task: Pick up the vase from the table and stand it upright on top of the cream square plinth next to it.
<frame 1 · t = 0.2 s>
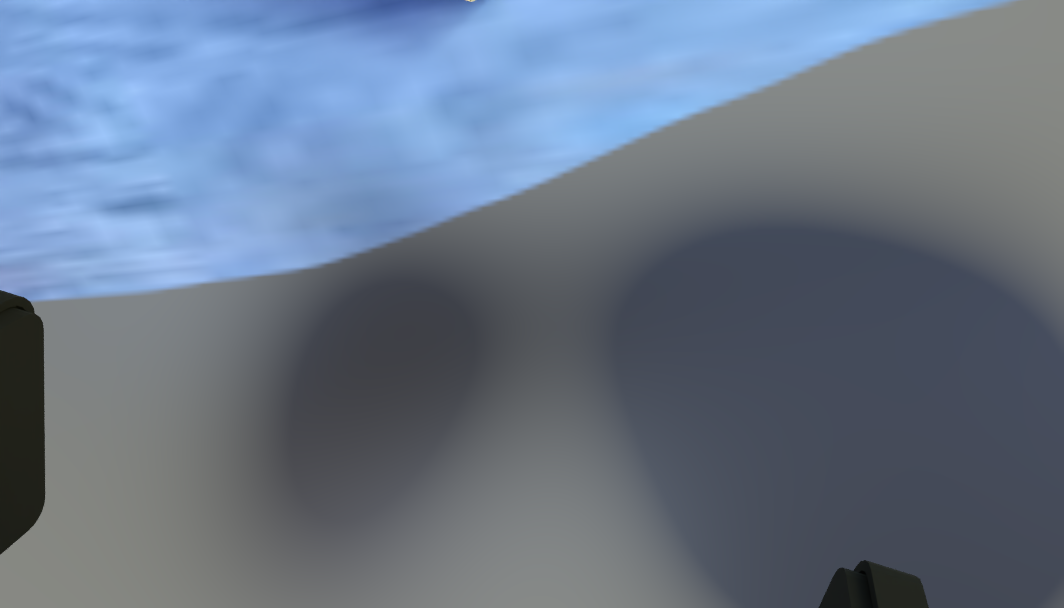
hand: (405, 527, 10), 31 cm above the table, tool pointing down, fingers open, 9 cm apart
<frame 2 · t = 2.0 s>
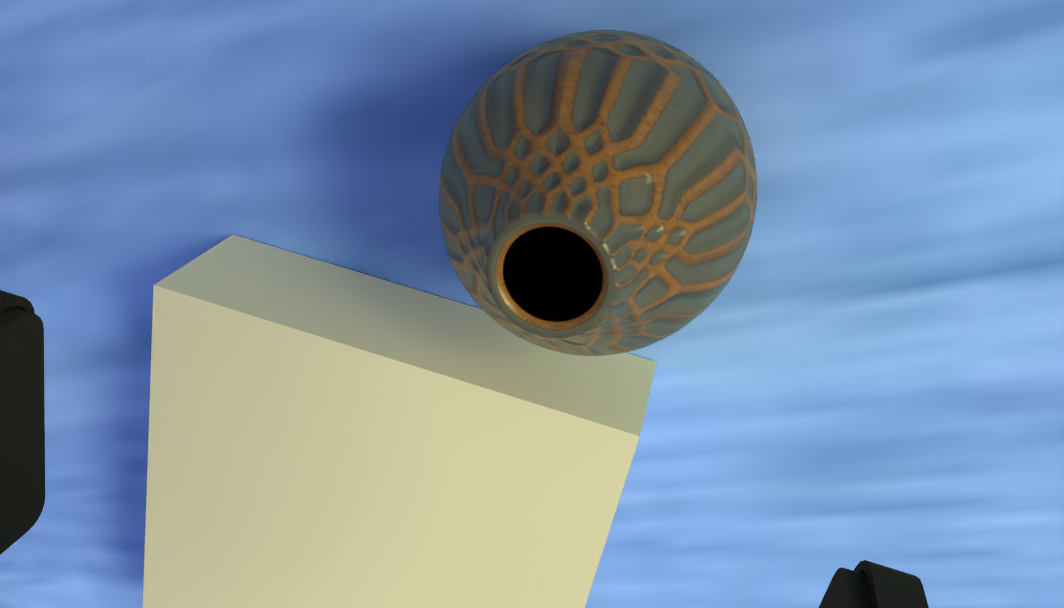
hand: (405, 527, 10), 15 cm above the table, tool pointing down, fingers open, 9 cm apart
vase: (621, 151, 24), on the table
plinth: (405, 474, 29), on the table
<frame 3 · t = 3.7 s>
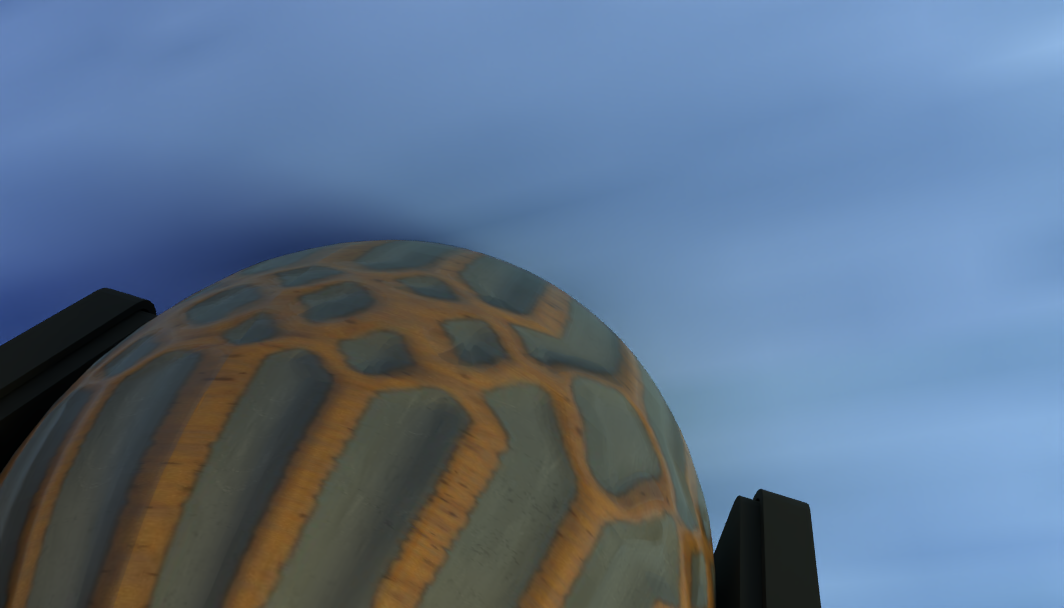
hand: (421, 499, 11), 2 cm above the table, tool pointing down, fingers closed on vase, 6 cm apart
vase: (469, 413, 13), on the table, touching gripper
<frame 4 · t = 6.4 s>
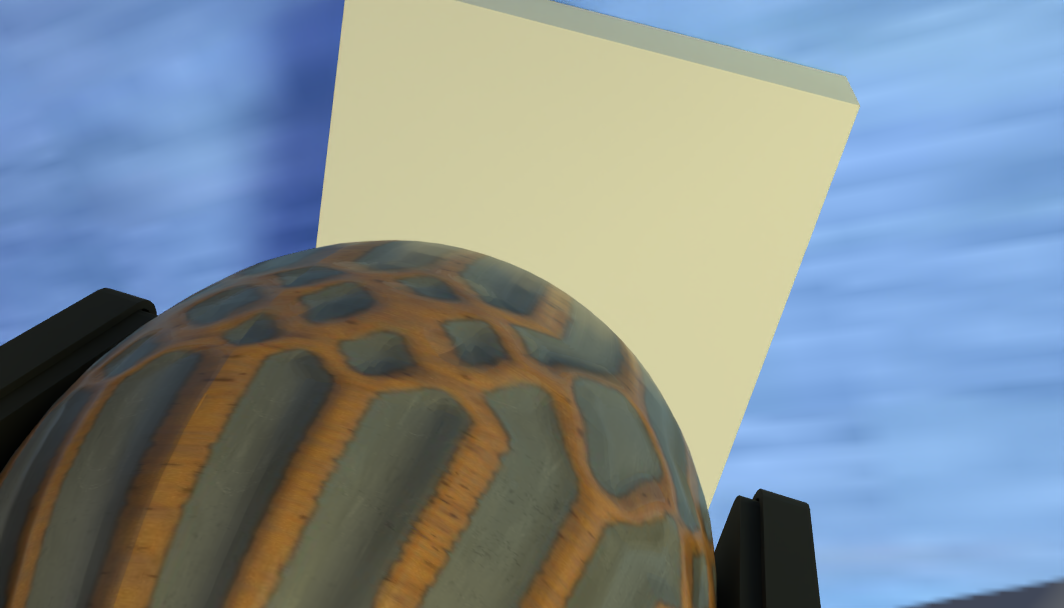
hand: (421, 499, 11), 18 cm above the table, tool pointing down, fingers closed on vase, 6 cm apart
vase: (469, 414, 13), point 16 cm above the table, touching gripper
plinth: (566, 227, 29), on the table
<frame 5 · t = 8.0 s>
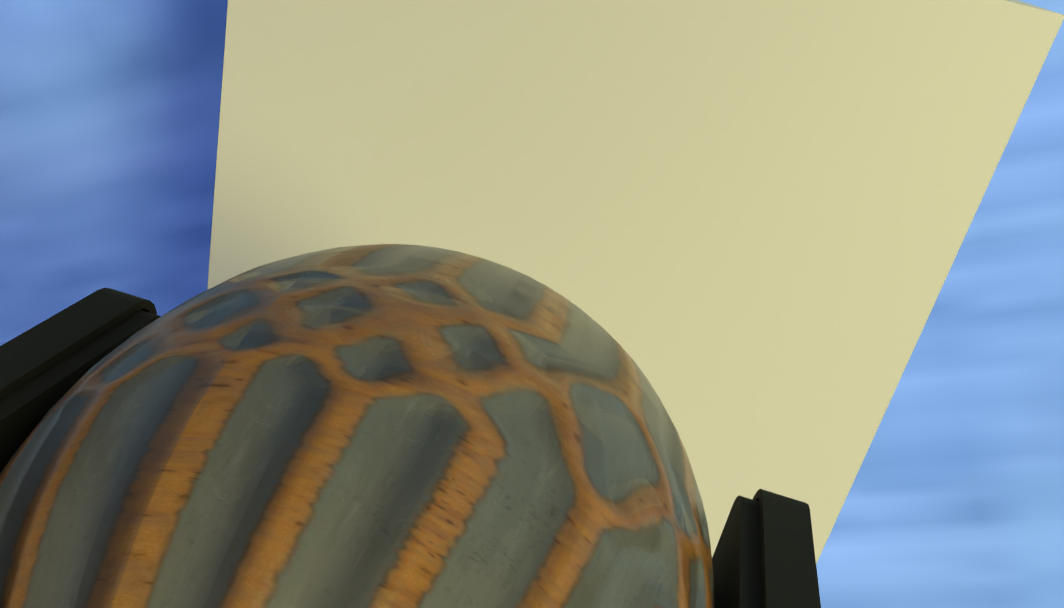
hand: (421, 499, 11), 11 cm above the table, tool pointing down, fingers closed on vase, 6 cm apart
vase: (467, 417, 13), point 9 cm above the table, touching gripper
plinth: (577, 221, 20), on the table
when the fingers open (7 cm above the table, at t = 9.2 s): vase drops 1 cm, resting on plinth.
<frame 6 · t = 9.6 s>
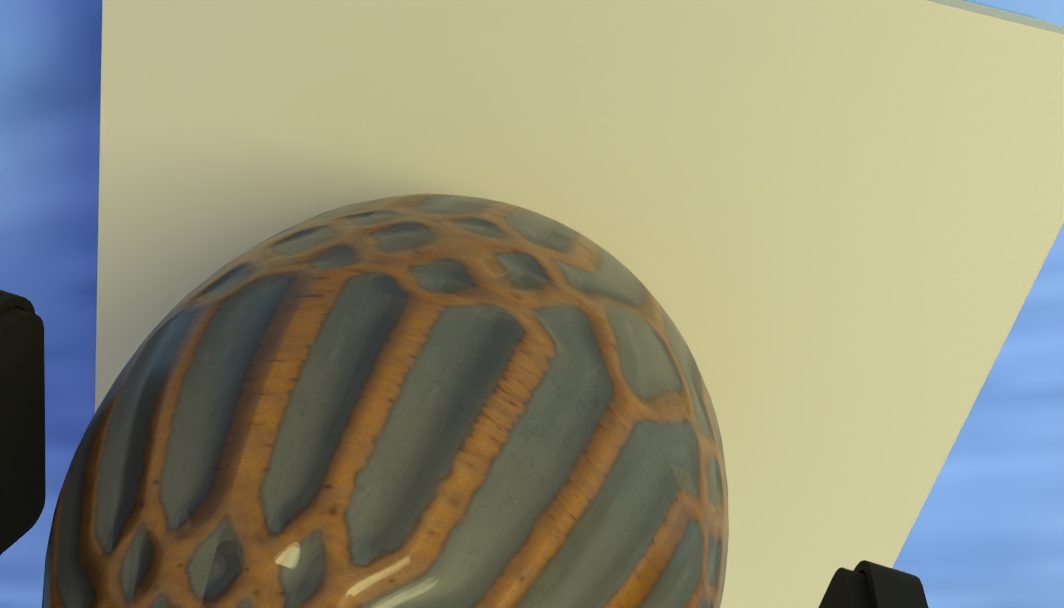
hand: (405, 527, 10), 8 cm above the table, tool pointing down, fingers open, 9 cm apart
vase: (499, 362, 14), point 4 cm above the table, touching plinth
plinth: (542, 281, 17), on the table
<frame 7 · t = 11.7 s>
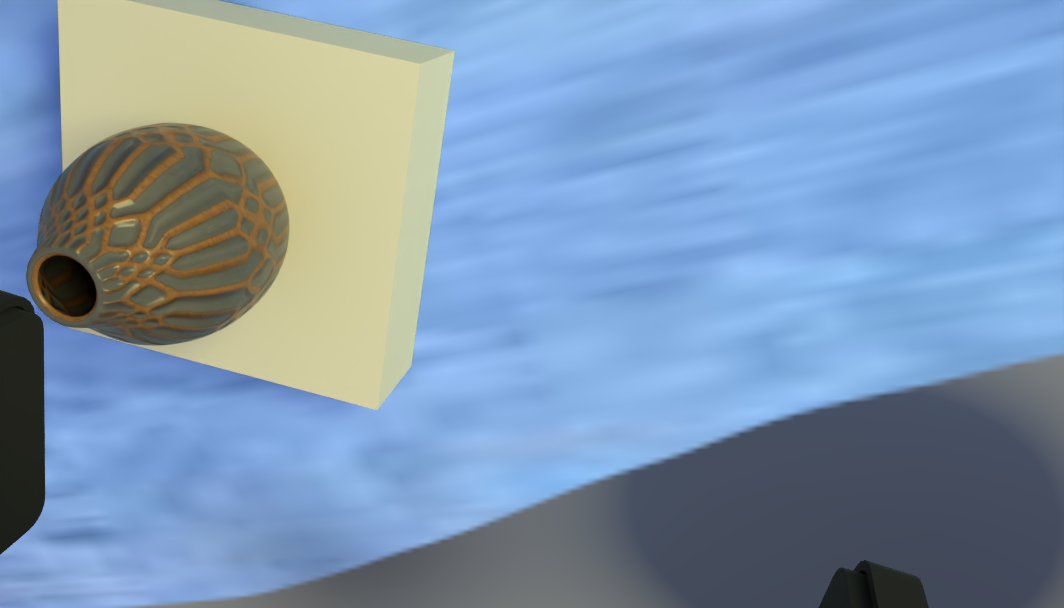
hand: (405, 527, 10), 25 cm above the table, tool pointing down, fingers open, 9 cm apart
vase: (230, 203, 33), point 4 cm above the table, touching plinth
plinth: (276, 182, 37), on the table
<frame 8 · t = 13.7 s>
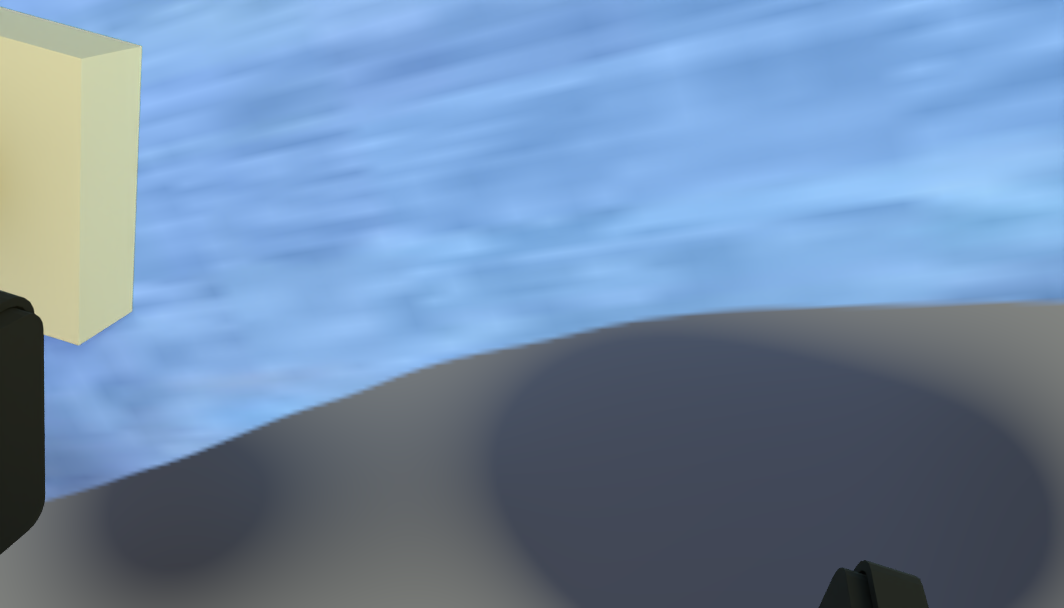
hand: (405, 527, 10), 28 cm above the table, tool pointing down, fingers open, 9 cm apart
plinth: (10, 150, 43), on the table
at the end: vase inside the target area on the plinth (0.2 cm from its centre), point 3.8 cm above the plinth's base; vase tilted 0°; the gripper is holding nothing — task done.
